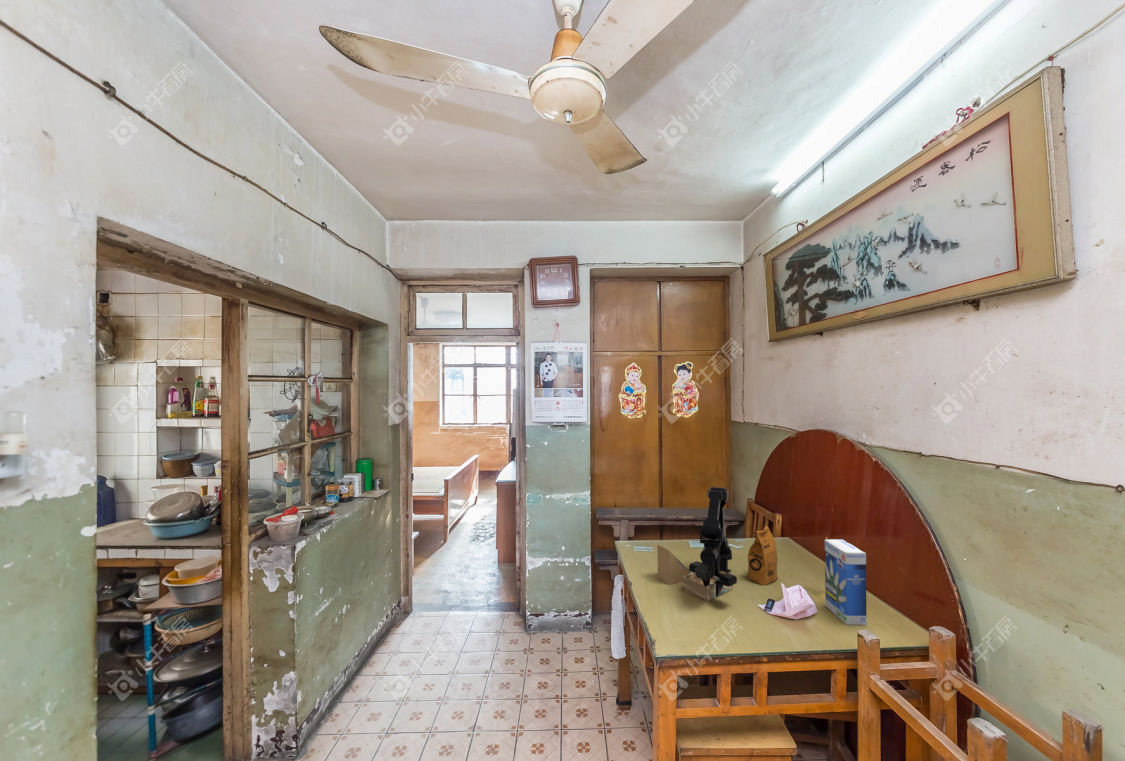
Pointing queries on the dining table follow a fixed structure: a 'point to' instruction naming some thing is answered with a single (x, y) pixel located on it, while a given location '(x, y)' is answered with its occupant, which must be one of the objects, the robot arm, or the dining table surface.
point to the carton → (696, 585)
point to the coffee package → (763, 558)
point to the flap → (712, 591)
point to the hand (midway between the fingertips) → (712, 594)
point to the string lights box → (845, 581)
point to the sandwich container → (670, 567)
